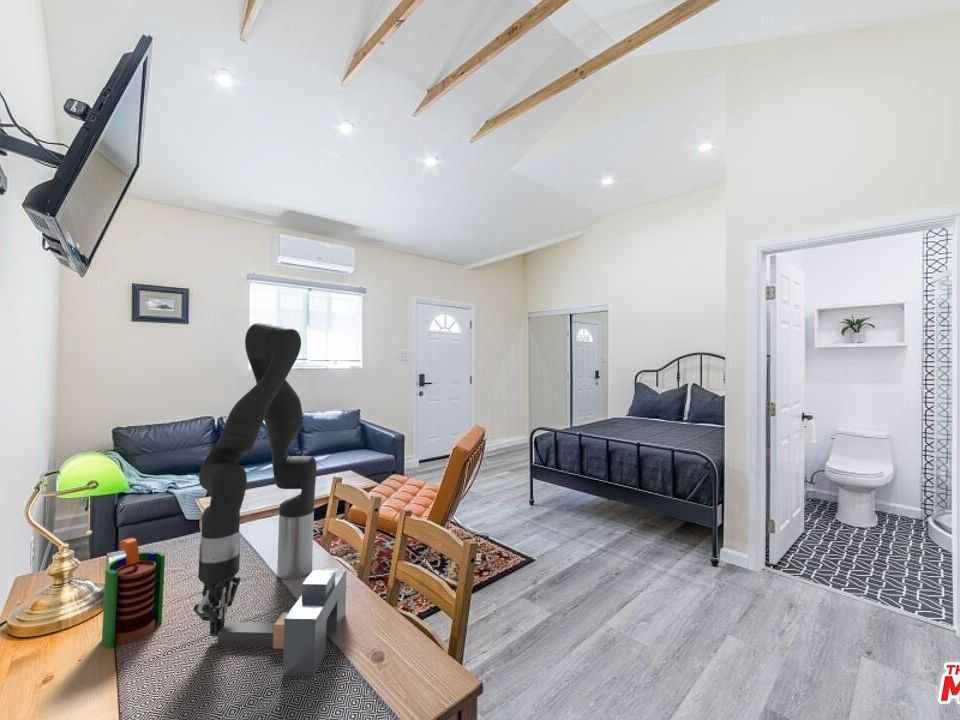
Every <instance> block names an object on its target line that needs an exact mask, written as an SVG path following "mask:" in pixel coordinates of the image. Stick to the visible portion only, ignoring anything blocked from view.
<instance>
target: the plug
mask: <svg viewBox="0 0 960 720" xmlns="http://www.w3.org/2000/svg"><path fill="white" fill-rule="evenodd" d="M289 612H290V611H289ZM289 612H285V611H284V612H282V613H281V615H280V616H279V617H278V619H277V620H276V621H275V622H257V621H256V622H251V621H250V622H249V621H247V622H246V621H245V622H244V621H243V622H242V621H240V622H239V621H238V622H237V621H226V623H224V626H223V627H222V628H221V629H220V630H219V631H218V635H217V636H216V639H217V640H216V647H240V648H241V647H247V648H248V647H250V648H251V647H255V648H272V649H279V650H281V649H283V650H284V619H285V617H286V616H287V614H288V613H289Z"/></svg>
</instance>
